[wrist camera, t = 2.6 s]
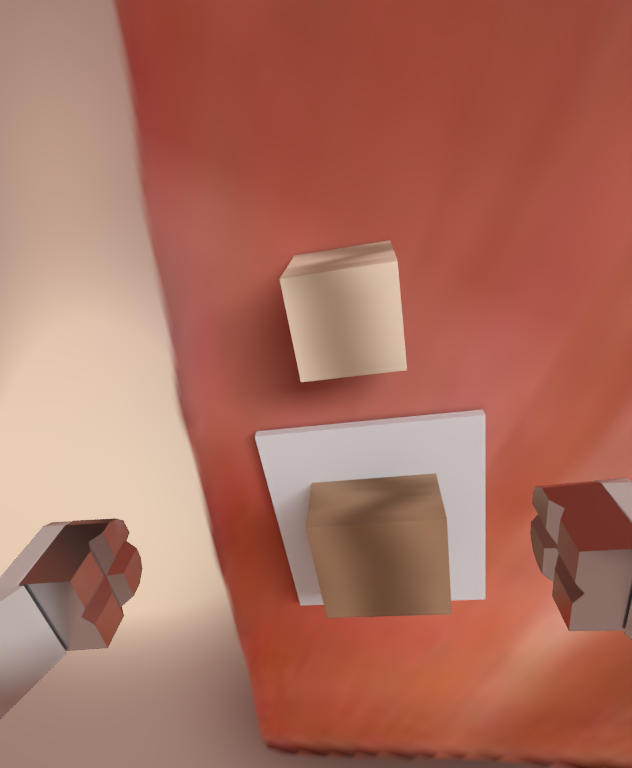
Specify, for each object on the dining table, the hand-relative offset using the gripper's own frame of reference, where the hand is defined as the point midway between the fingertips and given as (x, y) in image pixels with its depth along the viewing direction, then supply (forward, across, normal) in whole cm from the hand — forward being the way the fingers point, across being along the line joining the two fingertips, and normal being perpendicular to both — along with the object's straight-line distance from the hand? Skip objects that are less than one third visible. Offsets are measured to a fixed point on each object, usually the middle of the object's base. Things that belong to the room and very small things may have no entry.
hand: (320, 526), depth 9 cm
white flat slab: (+17, -1, +16) cm, 24 cm away
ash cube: (+17, 0, 0) cm, 17 cm away
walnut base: (+17, -1, +16) cm, 24 cm away
